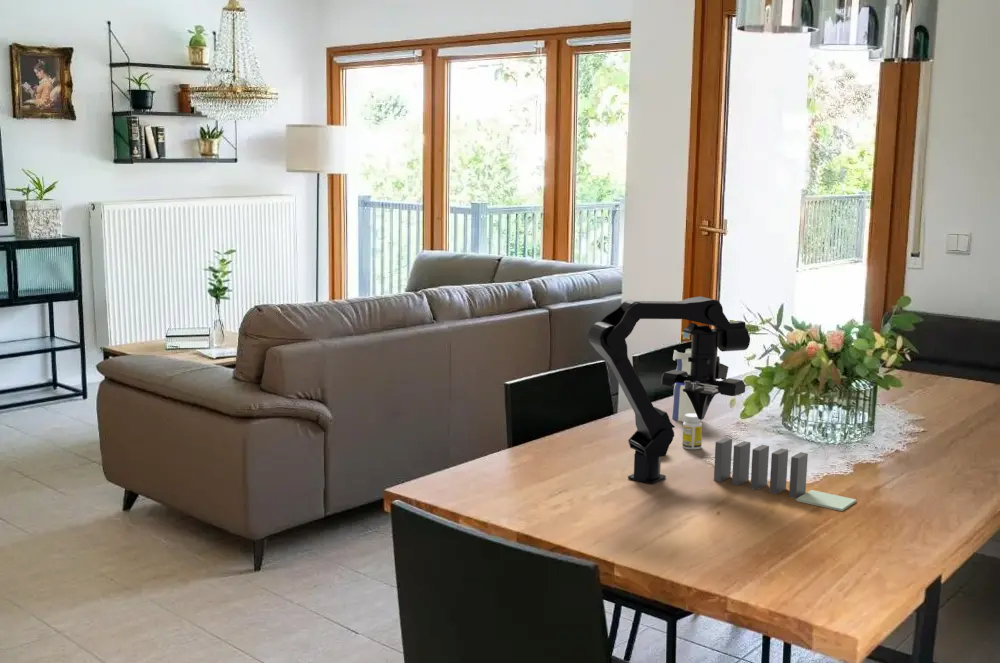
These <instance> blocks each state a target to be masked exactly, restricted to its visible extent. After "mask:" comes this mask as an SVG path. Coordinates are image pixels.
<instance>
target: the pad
mask: <svg viewBox="0 0 1000 663" xmlns="http://www.w3.org/2000/svg"><path fill="white" fill-rule="evenodd" d="M795 500H796V502H799V503H803V504H809V505H812V506H817V507H821V508H826V509H830V510H834V511H839V512H843V511H844V510H846V509H848V508H849V507H850V506H852V505H853V504H854V505H855V503H856V502H857V499H856V498H853V497H852V498H851V497H847V496H841V495H838V494H833V493H829V492H823V491H820V490H819V491H818V490H814V489H811V490H809V491H807V492H805V494H803V495H801V496H800V497H798V498H796V499H795Z"/></svg>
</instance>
